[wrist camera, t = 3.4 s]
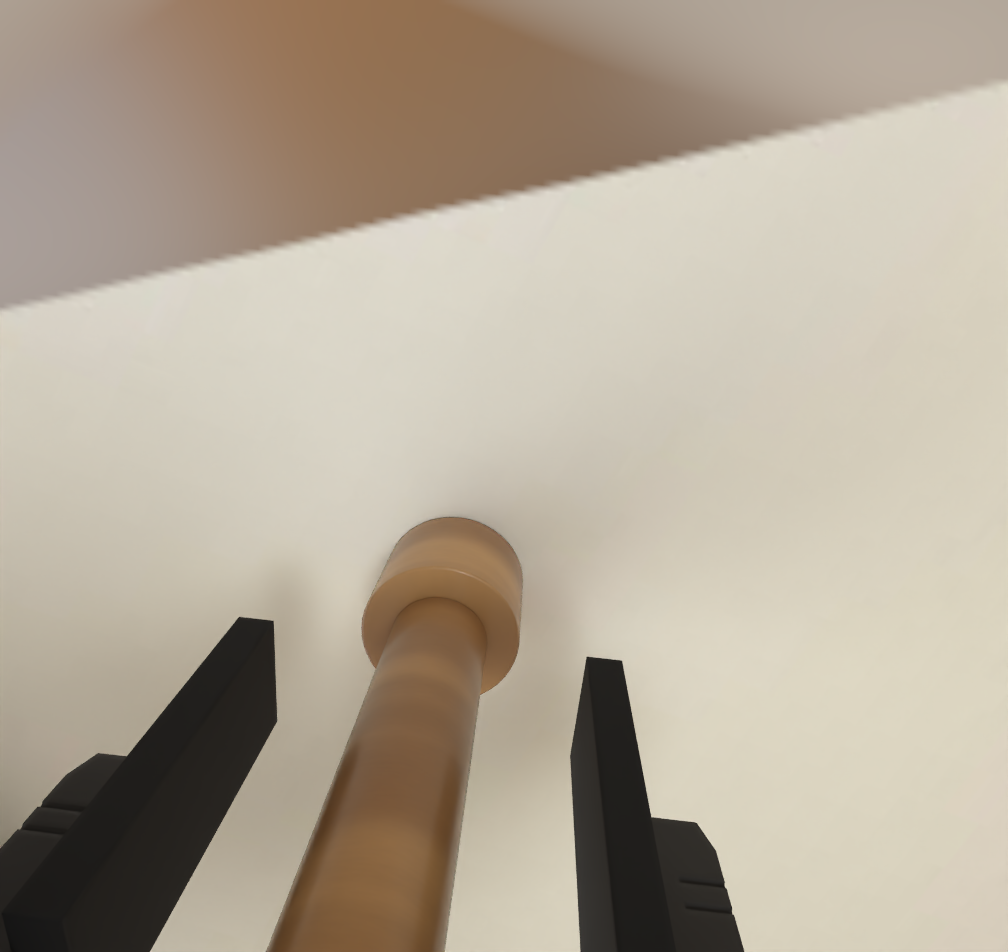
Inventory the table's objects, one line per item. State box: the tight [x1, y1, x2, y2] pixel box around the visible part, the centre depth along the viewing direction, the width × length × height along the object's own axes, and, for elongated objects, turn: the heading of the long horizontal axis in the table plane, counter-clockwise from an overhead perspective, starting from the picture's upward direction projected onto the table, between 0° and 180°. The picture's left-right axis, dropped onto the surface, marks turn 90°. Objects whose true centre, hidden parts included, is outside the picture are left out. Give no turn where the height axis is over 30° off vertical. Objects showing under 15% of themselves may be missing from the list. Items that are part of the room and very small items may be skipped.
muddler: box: [266, 517, 523, 952], centre depth 11 cm, size 4×4×16 cm
